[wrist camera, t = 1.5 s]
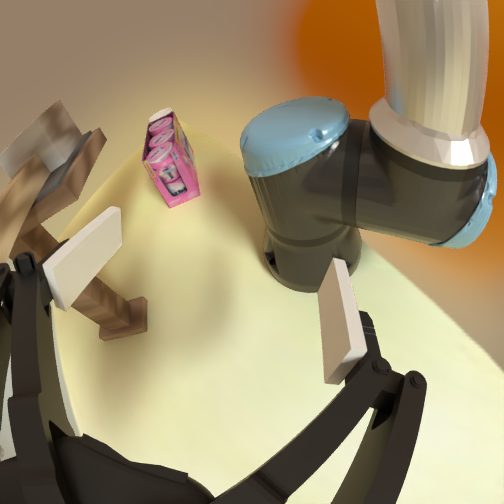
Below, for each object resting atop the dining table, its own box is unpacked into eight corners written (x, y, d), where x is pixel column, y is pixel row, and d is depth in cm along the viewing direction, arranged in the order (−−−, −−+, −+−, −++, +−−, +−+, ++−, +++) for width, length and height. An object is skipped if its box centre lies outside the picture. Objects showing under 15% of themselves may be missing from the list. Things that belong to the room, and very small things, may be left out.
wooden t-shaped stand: (80, 296, 50) (-12, 213, 28) (190, 258, 48) (97, 124, 26) (74, 346, 43) (-39, 269, 21) (194, 319, 40) (62, 181, 18)
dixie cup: (184, 142, 76) (170, 113, 68) (161, 152, 77) (146, 124, 69) (185, 132, 81) (172, 105, 73) (164, 141, 82) (150, 115, 74)
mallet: (41, 166, 26) (18, 134, 21) (83, 136, 25) (59, 98, 21) (-28, 316, 12) (-74, 277, 8) (5, 297, 12) (-57, 243, 7)
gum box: (202, 199, 57) (175, 148, 46) (169, 213, 57) (139, 166, 47) (193, 149, 72) (174, 110, 61) (168, 161, 72) (147, 123, 62)
